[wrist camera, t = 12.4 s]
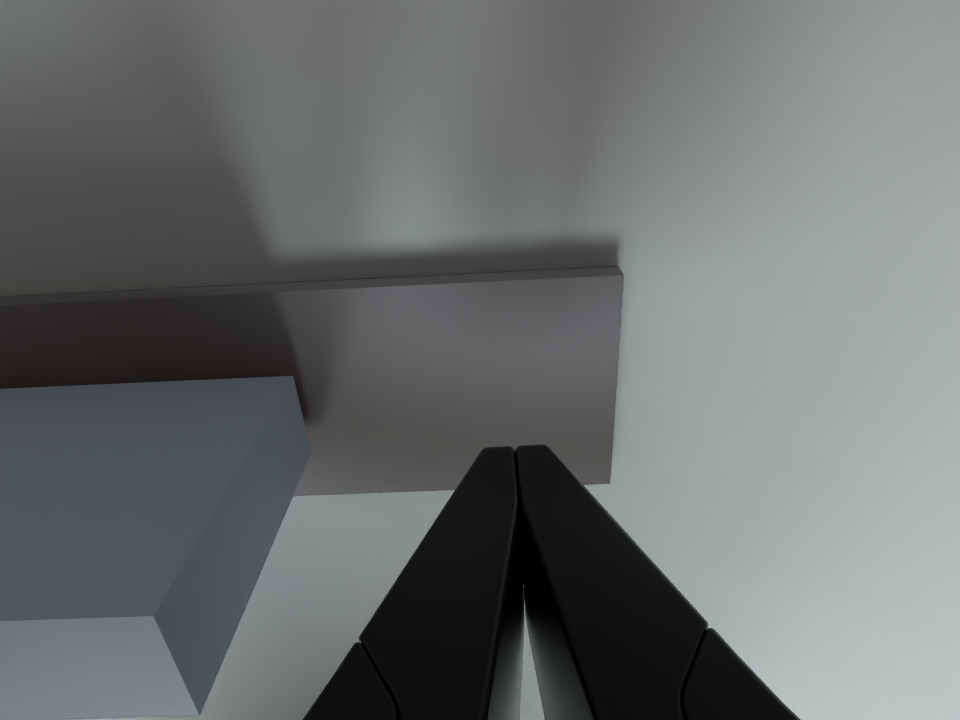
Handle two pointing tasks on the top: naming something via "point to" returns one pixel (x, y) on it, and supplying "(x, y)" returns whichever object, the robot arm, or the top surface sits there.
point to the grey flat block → (135, 537)
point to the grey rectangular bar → (363, 363)
